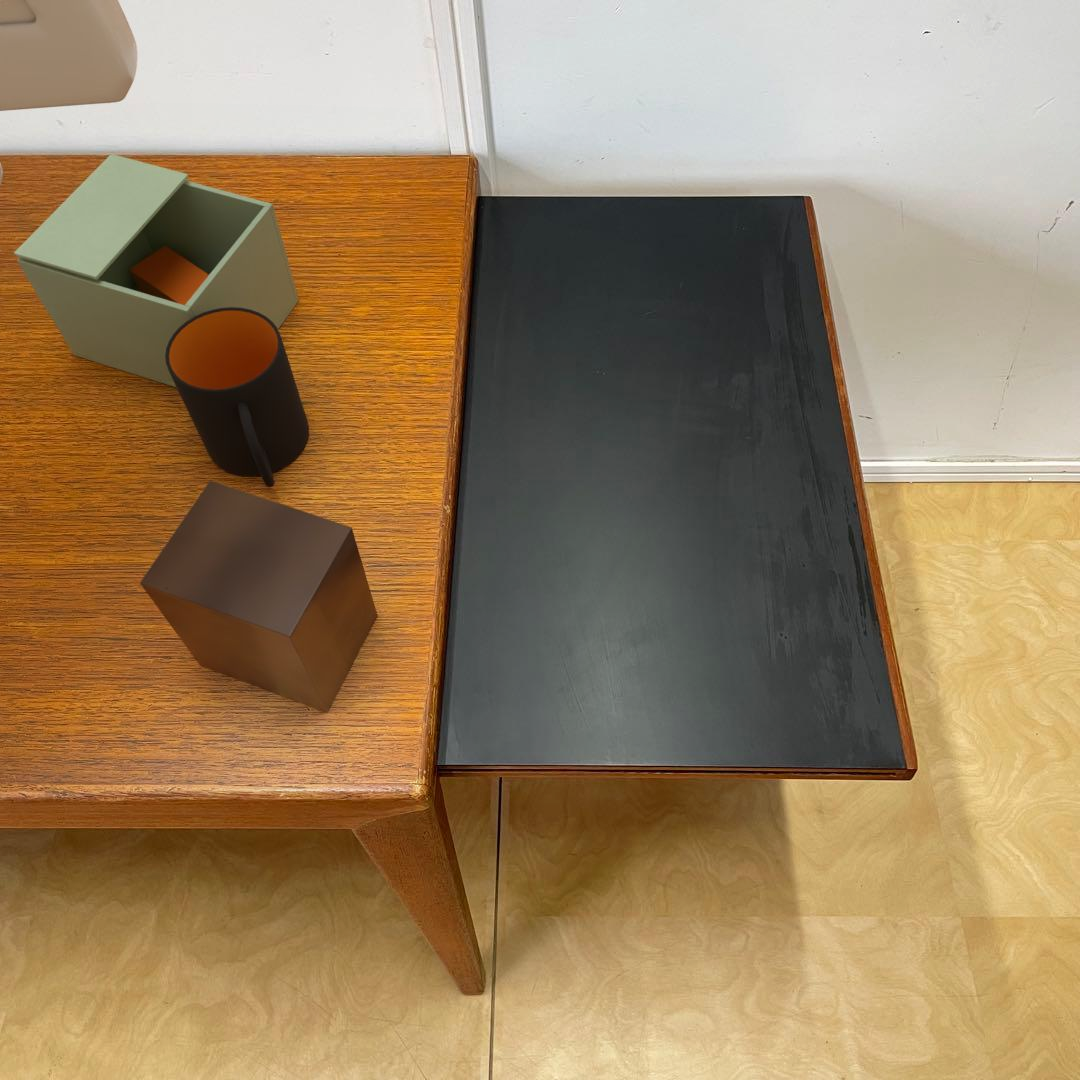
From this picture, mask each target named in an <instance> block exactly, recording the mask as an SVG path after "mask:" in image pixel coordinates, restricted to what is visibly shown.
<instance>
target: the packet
mask: <svg viewBox="0 0 1080 1080" xmlns="http://www.w3.org/2000/svg"><path fill="white" fill-rule="evenodd" d="M130 272H131V274H132V276H133V278H134V280H135V282H136V285H137V287H138V289H139V291H140V292H141V293H145V294H148V295H152V296H155V297H158V298H162V299H165V300H168V301H172V302H175V303H178V304H182V305H185V304H186V303H187V302H188V301H189V299H190V298H191V297H192V296H193V294H194V293H195V292H196V291H197V289H198V288H199V287H200V286H201V284H202V283H203V282H204V281H205V280H206V278H207V277H208V276H209V274H207V273H206V272H204V271H203V270H201V269H200V268H198V267H197V266H195V265H194V264H192V263H191V262H189V261H188V260H186V259H185V258H183V257H182V256H180V255H179V254H177V253H176V252H174V251H173V250H171V249H170V248H168V247H167V246H164V247H162V248H161V249H159V250H158V251H156V252H155V253H153V254H152V255H150V256H149V257H147V258H146V259H144V260H143V261H141V262H140V263H138V264H137V265H135V266H134V267H132V268H131V269H130Z"/></svg>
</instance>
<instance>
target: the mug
mask: <svg viewBox="0 0 1080 1080" xmlns="http://www.w3.org/2000/svg"><path fill="white" fill-rule="evenodd" d="M165 359H166V365H167V368H168V370H169V372H170V375H171V377H172V379H173V381H174V383H175V385H176V387H177V388H176V387H175V388H176V389H177V392H178V393H179V394H178V395H180V398H181V399H182V402H183V404H184V406H185V409H186V410H187V412H188V414H189V416H190V418H191V421H192V423H193V425H194V427H195V430H196V431H197V433H198V435H199V437H200V439H201V441H202V444H203V445H204V448H205V450H206V451H207V455H208V456H209V458H210V459H211V460H212V462H213V463H214V464H215V465H216V466H217V467H218V468H220V469H222V470H223V471H225V473H226V472H227V473H229V474H232V475H234V476H240V477H249V478H254V477H261V479H262V482H263V484H264V486H266V488H273V487H274V485H275V477H274V475H273V473H277V472H279V471H281V470H283V469H285V468H286V467H288V466H289V465H290V464H292V463H293V462H294V461H295V460H296V459H297V458H298V457H299V456H300V455H301V453H302V452H303V451H304V449H305V447H306V446H307V443H308V441H309V440H308V439H309V436H310V427H309V421H308V418H307V416H306V412H305V409H304V405H303V403H302V398H301V396H300V392H299V389H298V386H297V383H296V380H295V376H294V374H293V370H292V367H291V364H290V360H289V357H288V355H287V352H286V347H285V344H284V342H283V338H282V336H281V333H280V330H279V329H278V328H277V327H276V326H275V324H274V323H273V322H272V321H271V320H270V319H269V318H267V317H266V316H264V315H263V314H261V313H259V312H256V311H253V310H250V309H245V308H237V307H227V308H219V309H213V310H210V311H207V312H203V313H201V314H199V315H197V316H195V317H193V318H191V319H190V320H188V321H186V322H185V323H184V324H183V325H181V326H180V327H179V328H178V329H177V330H176V332H175V333H174V334H173V335H172V337H171V339H170V340H169V342H168V345H167V348H166V353H165Z"/></svg>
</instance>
